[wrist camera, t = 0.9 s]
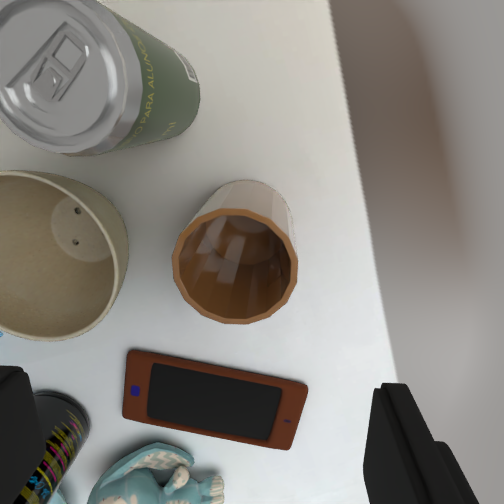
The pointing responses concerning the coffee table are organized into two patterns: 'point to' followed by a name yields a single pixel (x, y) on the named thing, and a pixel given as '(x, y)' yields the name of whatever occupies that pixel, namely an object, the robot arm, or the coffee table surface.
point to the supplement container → (55, 445)
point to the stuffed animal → (144, 483)
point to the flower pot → (57, 256)
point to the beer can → (89, 79)
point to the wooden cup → (238, 254)
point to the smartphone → (212, 400)
